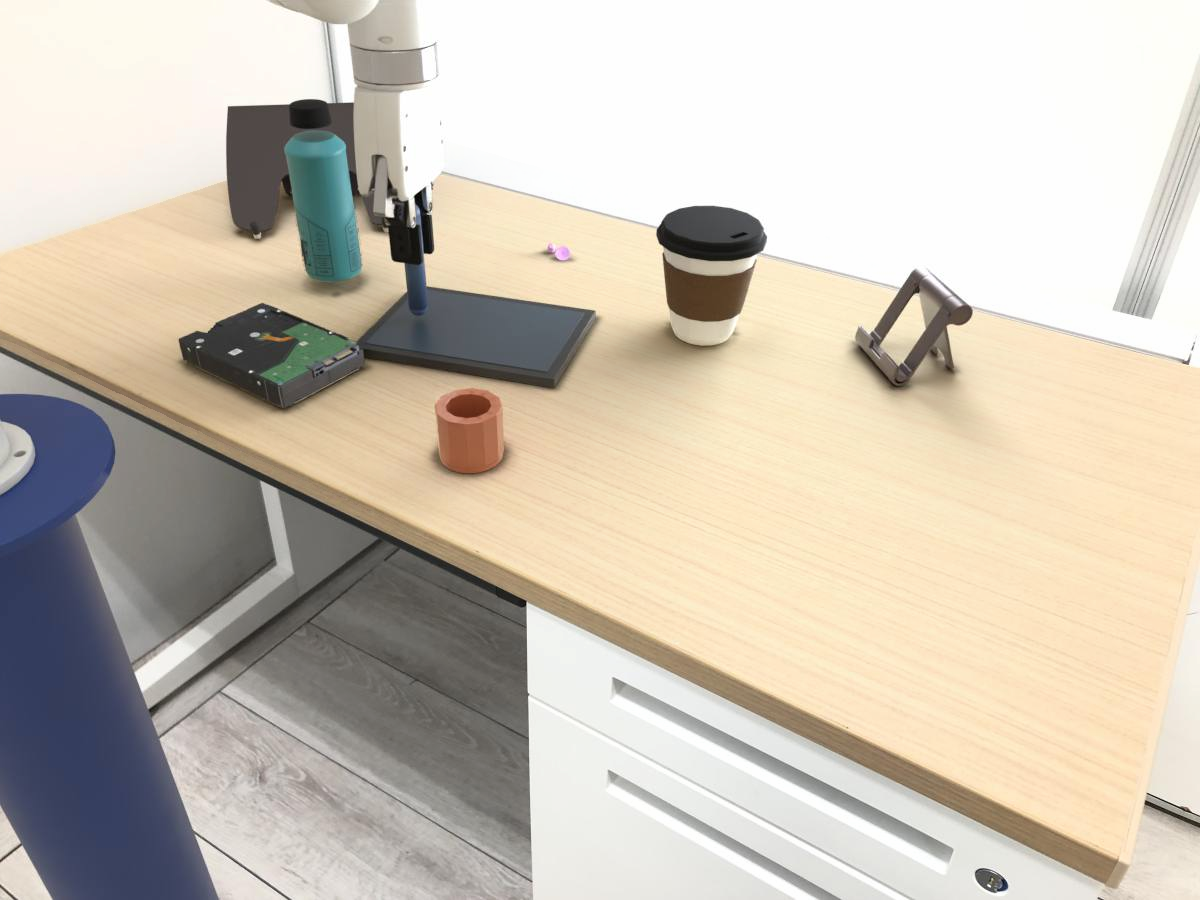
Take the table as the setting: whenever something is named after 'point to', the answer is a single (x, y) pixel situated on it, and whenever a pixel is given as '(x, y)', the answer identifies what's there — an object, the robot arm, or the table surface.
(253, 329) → the disk drive
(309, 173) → the beverage bottle
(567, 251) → the pink pawn
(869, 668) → the table surface
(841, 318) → the table surface
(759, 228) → the coffee cup
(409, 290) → the blue rounded rod
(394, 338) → the tablet
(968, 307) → the tablet stand
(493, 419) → the pen pot
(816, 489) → the table surface
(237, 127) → the laptop tray
